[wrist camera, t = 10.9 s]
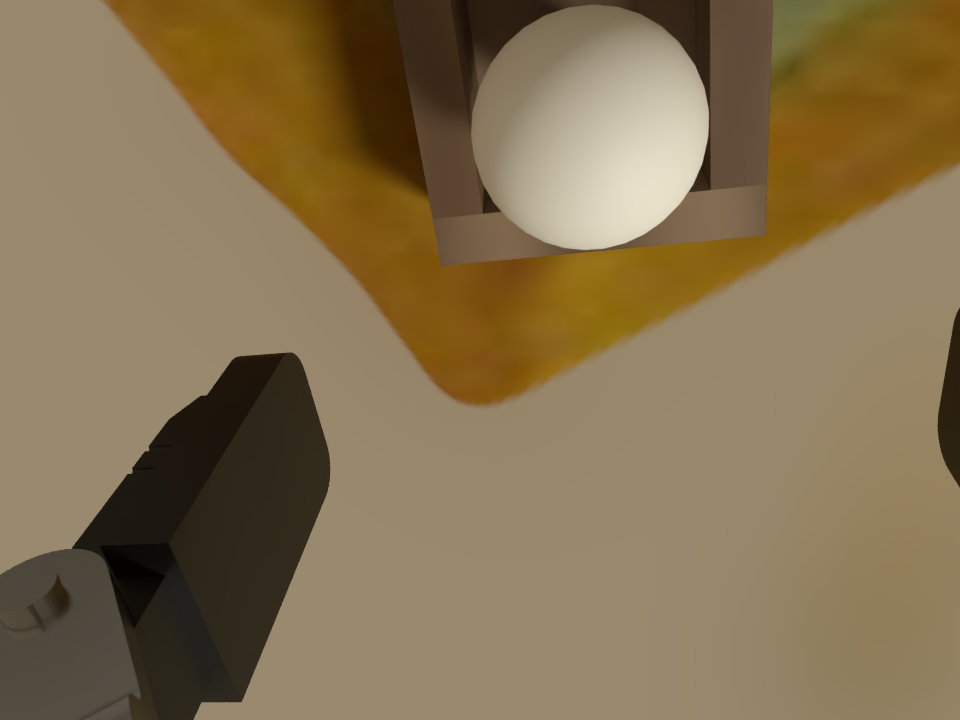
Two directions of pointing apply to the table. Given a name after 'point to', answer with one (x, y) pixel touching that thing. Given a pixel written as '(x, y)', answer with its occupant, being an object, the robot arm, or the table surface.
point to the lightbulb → (590, 127)
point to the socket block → (505, 12)
